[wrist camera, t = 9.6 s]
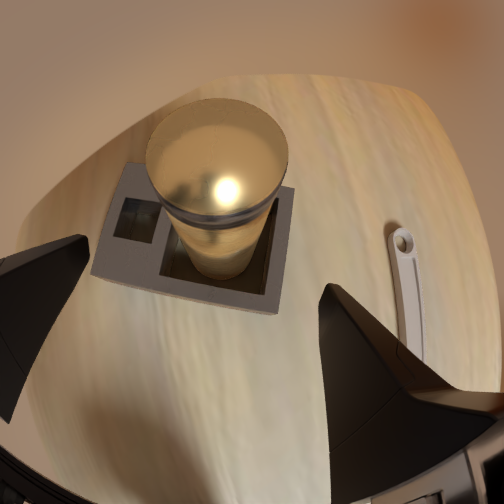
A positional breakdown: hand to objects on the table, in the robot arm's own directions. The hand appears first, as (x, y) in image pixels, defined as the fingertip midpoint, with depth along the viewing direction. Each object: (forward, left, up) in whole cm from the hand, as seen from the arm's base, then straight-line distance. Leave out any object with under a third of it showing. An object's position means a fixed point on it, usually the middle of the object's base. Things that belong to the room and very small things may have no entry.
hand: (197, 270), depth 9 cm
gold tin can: (+3, +3, -11) cm, 11 cm away
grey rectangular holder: (+1, +4, -11) cm, 12 cm away
